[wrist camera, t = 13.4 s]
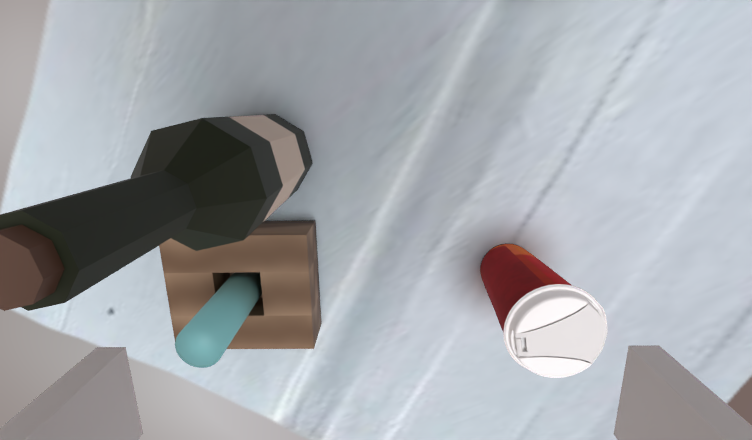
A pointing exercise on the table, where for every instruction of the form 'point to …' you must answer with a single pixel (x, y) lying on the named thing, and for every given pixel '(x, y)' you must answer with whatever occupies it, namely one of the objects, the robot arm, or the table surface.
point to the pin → (219, 320)
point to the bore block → (278, 281)
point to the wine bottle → (154, 206)
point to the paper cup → (542, 313)
